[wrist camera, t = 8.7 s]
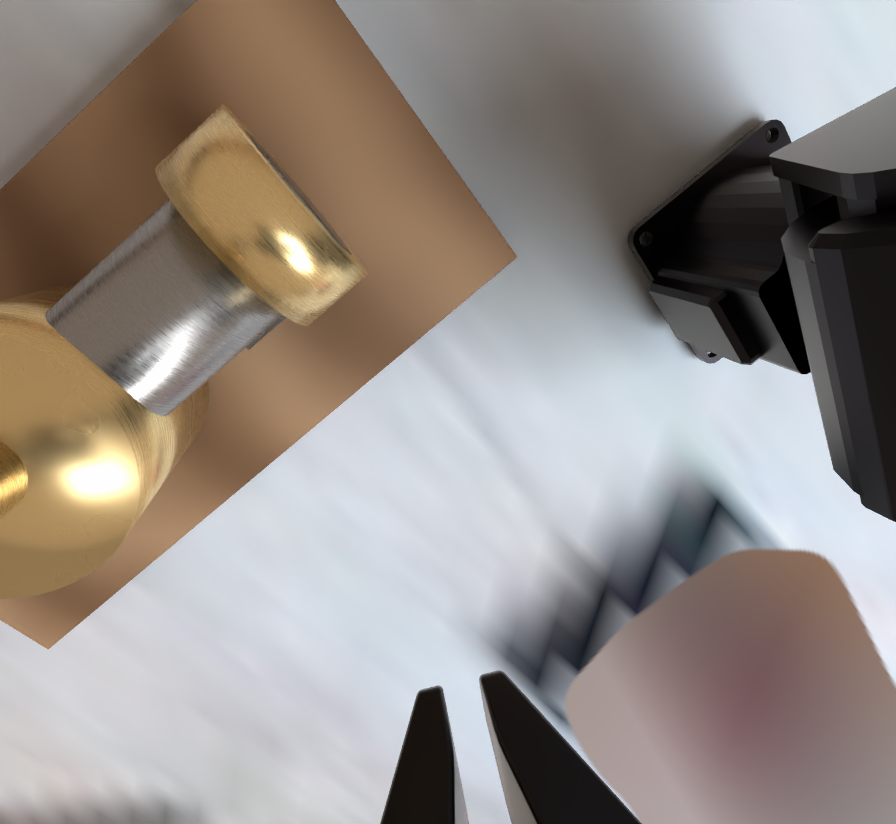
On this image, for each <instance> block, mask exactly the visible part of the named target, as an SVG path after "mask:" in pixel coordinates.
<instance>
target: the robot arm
mask: <svg viewBox="0 0 896 824" xmlns="http://www.w3.org/2000/svg"><path fill="white" fill-rule="evenodd" d="M768 130H769V131H770V132H771V138H770V141H769V142H767V141H766V133H767V131H768ZM643 232H645V233H646V234H647V240H646V242H645V243H644V244H643V245H641V244H640V241H639V238H640V235H641V234H642V233H643ZM628 244H629V247H630V249H631V250H632V252H633V253H634V255H635V257H636V258H637V260H638V262H639V263H640V265H641V267H642V268H643V270H644V271H645V273H646V275H647V276H648V278H649V280H650V281H651V282H650V283H649V293H650V295H651V297H652V298H653V300H654V301H655V303H656V305H657V306H658V308H659V309H660V311H661V313H662V314H663V316H664V318H665V319H666V321H667V322H668V324H669V326H670V327H671V329H672V330H673V332H674V334H675V335H676V337H677V338H678V339H679V340H682V341H684V342H687V343H689V345H690V346H691V348H692V350H693V351H694V353H695V355H696V356H697V357H698V358H699V359H700V360H702V361H704V362H706V363H715V362H717V361H718V360H720V359H721V358H722V357H724V358H727V359H729V360H732V361H734V362H737V363H739V364H747V365H751V364H753V363H754V362H755V361H757V360H758V359H762V360H765V361H768V362H770V363H773V364H776V365H778V366H781V367H784V368H787V369H789V370H792V371H795V372H798V373H800V374H808V373H810V372H811V374H812V378H813V382H814V387H815V391H816V396H817V400H818V404H819V409H820V413H821V418H822V422H823V427H824V431H825V435H826V440H827V444H828V449H829V453H830V457H831V461H832V465H833V469H834V471H835V472H836V473H837V474H838V475H839V476H840V477H841V478H842V479H843V480H844V481H845V482H846V483H847V484H848V486H849V487H850V488H851V489H852V490H853V491H854V492H856V493H857V494H859V495H860V499H861V503H862V504H863V505H864V506H865V507H866V508H868V509H870V510H872V511H874V512H876V513H878V514H880V515H882V516H884V517H886V518H888V519H890V520H892V521H895V522H896V87H895V88H893V89H892V90H890V91H888V92H886V93H884V94H882V95H880V96H878V97H877V98H875V99H873V100H871V101H869V102H867V103H865V104H863V105H862V106H860V107H858V108H856V109H854V110H852V111H850V112H848V113H847V114H845V115H843V116H841V117H839V118H837V119H835V120H833V121H832V122H830V123H828V124H826V125H824V126H822V127H820V128H818V129H816V130H815V131H813V132H811V133H809V134H807V135H805V136H803V137H801V138H800V139H798V140H796V141H794V142H791V140H790V138H789V136H788V133H787V131H786V129H785V126H784V125H783V123H782V122H781V121H779V120H769V121H765V122H762V123H760V124H759V125H757V126H756V127H755V128H754V129H753V130H751V131H750V132H749V133H748V134H747V135H745V136H744V137H743V138H742V139H740V140H739V141H738V142H737V143H736V144H734V145H733V146H732V147H731V148H729V149H728V150H727V151H726V152H725V153H723V154H722V155H721V156H720V157H719V158H717V159H716V160H715V161H714V162H712V163H711V164H710V165H709V166H708V167H706V168H705V169H704V170H703V171H701V172H700V173H699V174H698V175H697V176H695V177H694V178H693V179H692V180H691V181H689V182H688V183H687V184H686V185H684V186H683V187H682V188H681V189H680V190H678V191H677V192H676V193H675V194H673V195H672V196H671V197H670V198H669V199H667V200H666V201H665V202H664V203H663V204H661V205H660V206H659V207H658V208H656V209H655V210H654V211H653V212H652V213H650V214H649V215H648V216H647V217H646V218H644V219H643V220H642V221H641V222H639V223H638V224H637V225H636V226H635V227H633V229H632V230H631V231H630V233H629V236H628ZM707 351H709V352H711V353H710V354H708V355H707ZM479 682H480V688H481V694H482V700H483V706H484V711H485V716H486V721H487V725H488V729H489V734H490V738H491V742H492V746H493V750H494V754H495V759H496V763H497V767H498V771H499V775H500V779H501V783H502V788H503V792H504V796H505V800H506V804H507V808H508V812H509V815H510V819H511V822H512V824H642V823H641V822H640V821H639V820H638V819H637V818H636V817H635V816H634V815H633V814H632V812H631V811H630V810H629V809H628V808H627V807H626V806H625V805H624V804H623V803H622V801H621V800H620V799H619V798H618V797H617V796H616V795H615V794H614V793H613V792H612V791H611V789H610V788H609V787H608V786H607V785H606V784H605V783H604V782H603V781H602V780H601V778H600V777H599V776H598V775H597V774H596V773H595V772H594V771H593V770H592V769H591V767H590V766H589V765H588V764H587V763H586V762H585V761H584V760H583V759H582V758H581V756H580V755H579V754H578V753H577V752H576V751H575V750H574V749H573V748H572V747H571V745H570V744H569V743H568V742H567V741H566V740H565V739H564V738H563V737H562V736H561V734H560V733H559V732H558V731H557V730H556V729H555V728H554V727H553V726H552V725H551V723H550V722H549V721H548V720H547V719H546V718H545V717H544V716H543V715H542V714H541V712H540V711H539V710H538V709H537V708H536V707H535V706H534V705H533V704H532V703H531V701H530V700H529V699H528V698H527V697H526V696H525V695H524V694H523V693H522V692H521V690H520V689H519V688H518V687H517V686H516V685H515V684H514V683H513V682H512V681H511V679H510V678H509V677H508V676H507V675H506V674H505V673H504V672H502V671H495V672H491V673H487V674H483V675H481V676H480V678H479ZM380 824H469V821H468V815H467V810H466V805H465V799H464V794H463V789H462V784H461V779H460V773H459V768H458V763H457V758H456V753H455V747H454V742H453V737H452V732H451V727H450V722H449V717H448V712H447V707H446V702H445V698H444V693H443V689H442V687H441V686H435V687H431V688H427V689H423V690H420V691H419V692H418V694H417V696H416V700H415V703H414V707H413V710H412V714H411V717H410V721H409V724H408V728H407V731H406V735H405V739H404V742H403V746H402V749H401V753H400V756H399V760H398V763H397V767H396V770H395V774H394V777H393V781H392V784H391V788H390V791H389V795H388V799H387V802H386V806H385V809H384V813H383V816H382V820H381V823H380Z"/></svg>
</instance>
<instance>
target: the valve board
mask: <svg viewBox="0 0 896 824" xmlns="http://www.w3.org/2000/svg"><path fill="white" fill-rule="evenodd" d="M222 104H223V105H225V106H226V107H227V108H228V109H229V110H230V111H232V112H233V113H234V114H235V115H236V116H237V117H238V118H239V119H240V121H241V122H242V123H243V124H244V125H245V126H246V127H247V128H248V129H249V130H250V131H251V132H252V133H253V134H254V135H255V137H256V138H257V139H258V140H259V141H260V142H261V143H262V144H263V145H264V146H265V148H266V149H267V150H268V151H269V152H270V153H271V154H272V155H273V157H274V158H275V159H276V160H277V161H278V162H279V163H280V165H281V166H282V167H283V168H284V169H285V170H286V171H287V173H288V174H289V175H290V176H291V177H292V178H293V180H294V181H295V182H296V183H297V184H298V185H299V187H300V188H301V189H302V190H303V191H304V192H305V194H306V195H307V196H308V197H309V198H310V200H311V201H312V202H313V203H314V204H315V206H316V207H317V208H318V209H319V210H320V212H321V213H322V214H323V215H324V216H325V218H326V219H327V220H328V221H329V223H330V224H331V225H332V226H333V227H334V229H335V230H336V231H337V232H338V234H339V235H340V236H341V237H342V239H343V240H344V241H345V242H346V244H347V245H348V246H349V248H350V249H351V250H352V252H353V253H354V254H355V255H356V257H357V258H358V260H359V261H360V262H361V264H362V265H363V267H364V268H365V270H366V271H367V275H366V276H365V277H364V278H363V279H362V280H361V281H359V282H358V283H357V284H356V285H355V286H354V287H353V288H351V289H350V290H349V291H348V292H347V293H346V294H344V295H343V296H342V297H341V298H340V299H339V300H337V301H336V302H335V303H334V304H333V305H332V306H331V307H329V308H328V309H327V310H326V311H325V312H324V313H322V314H321V315H320V316H319V317H318V318H317V319H315V320H314V321H313V322H312V323H311V324H310V325H308V326H302V325H299V324H297V323H295V322H293V321H291V320H290V319H288V318H285V319H284V320H283V321H282V322H280V323H279V324H278V325H277V326H276V327H275V328H274V329H272V330H271V331H270V332H269V333H268V334H267V335H266V336H264V337H263V338H262V339H261V340H260V341H259V342H257V343H256V344H255V345H254V346H253V347H252V348H251V349H249V350H248V349H247V348H245V349H244V350H243V351H241V352H240V353H239V354H238V355H237V356H236V357H234V358H233V359H232V360H231V361H230V362H229V363H228V364H226V365H225V366H224V367H223V368H222V369H221V370H220V371H218V372H217V373H216V374H215V375H214V376H213V377H211V378H210V379H209V380H208V382H209V404H208V409H207V414H206V417H205V420H204V423H203V425H202V427H201V429H200V431H199V432H198V434H197V436H196V437H195V439H194V440H193V441H192V443H191V444H190V446H189V447H188V449H187V450H186V451H185V453H184V454H183V456H182V457H181V459H180V460H179V461H178V463H177V464H176V466H175V467H174V469H173V470H172V472H171V473H170V474H169V476H168V477H167V479H166V480H165V482H164V483H163V484H162V486H161V487H160V489H159V490H158V492H157V493H156V494H155V496H154V497H153V499H152V500H151V502H150V503H149V504H148V506H147V507H146V509H145V510H144V512H143V513H142V514H141V516H140V517H139V519H138V520H137V522H136V523H135V524H134V526H133V527H132V529H131V530H130V532H129V533H128V535H127V536H126V537H125V539H124V540H123V542H122V543H121V544H120V546H119V547H118V548H117V550H116V551H115V552H114V554H112V555H111V556H110V557H109V558H108V559H107V560H106V561H105V562H104V563H103V564H102V565H101V566H100V567H98V568H97V569H96V570H94V571H93V572H92V573H90V574H89V575H87V576H85V577H83V578H82V579H80V580H78V581H76V582H74V583H72V584H70V585H67V586H65V587H62V588H60V589H57V590H54V591H51V592H47V593H43V594H40V595H35V596H29V597H22V598H12V599H0V620H1V621H3V622H5V623H6V624H8V625H9V626H11V627H13V628H14V629H16V630H18V631H19V632H21V633H22V634H24V635H26V636H27V637H29V638H31V639H32V640H34V641H35V642H37V643H39V644H40V645H42V646H44V647H45V648H47V649H49V648H51V647H52V646H53V645H54V644H55V643H56V642H58V641H59V640H60V639H61V638H62V637H64V636H65V635H66V634H67V633H68V632H70V631H71V630H72V629H73V628H74V627H76V626H77V625H78V624H79V623H80V622H82V621H83V620H84V619H85V618H86V617H88V616H89V615H90V614H91V613H92V612H94V611H95V610H96V609H97V608H98V607H99V606H101V605H102V604H103V603H104V602H105V601H107V600H108V599H109V598H110V597H111V596H113V595H114V594H115V593H116V592H117V591H119V590H120V589H121V588H122V587H123V586H125V585H126V584H127V583H128V582H129V581H131V580H132V579H133V578H134V577H135V576H137V575H138V574H139V573H140V572H141V571H142V570H144V569H145V568H146V567H147V566H148V565H150V564H151V563H152V562H153V561H154V560H156V559H157V558H158V557H159V556H160V555H162V554H163V553H164V552H165V551H166V550H168V549H169V548H170V547H171V546H172V545H174V544H175V543H176V542H177V541H178V540H180V539H181V538H182V537H183V536H184V535H186V534H187V533H188V532H189V531H190V530H191V529H193V528H194V527H195V526H196V525H197V524H199V523H200V522H201V521H202V520H203V519H205V518H206V517H207V516H208V515H209V514H211V513H212V512H213V511H214V510H215V509H217V508H218V507H219V506H220V505H221V504H223V503H224V502H225V501H226V500H227V499H229V498H230V497H231V496H232V495H233V494H234V493H236V492H237V491H238V490H239V489H240V488H242V487H243V486H244V485H245V484H246V483H248V482H249V481H250V480H251V479H252V478H254V477H255V476H256V475H257V474H258V473H260V472H261V471H262V470H263V469H264V468H266V467H267V466H268V465H269V464H270V463H272V462H273V461H274V460H275V459H276V458H277V457H279V456H280V455H281V454H282V453H283V452H285V451H286V450H287V449H288V448H289V447H291V446H292V445H293V444H294V443H295V442H297V441H298V440H299V439H300V438H301V437H303V436H304V435H305V434H306V433H307V432H309V431H310V430H311V429H312V428H313V427H315V426H316V425H317V424H318V423H319V422H321V421H322V420H323V419H324V418H325V417H326V416H328V415H329V414H330V413H331V412H332V411H334V410H335V409H336V408H337V407H338V406H340V405H341V404H342V403H343V402H344V401H346V400H347V399H348V398H349V397H350V396H352V395H353V394H354V393H355V392H356V391H358V390H359V389H360V388H361V387H362V386H364V385H365V384H366V383H367V382H368V381H369V380H371V379H372V378H373V377H374V376H375V375H377V374H378V373H379V372H380V371H381V370H383V369H384V368H385V367H386V366H387V365H389V364H390V363H391V362H392V361H393V360H395V359H396V358H397V357H398V356H399V355H401V354H402V353H403V352H404V351H405V350H407V349H408V348H409V347H410V346H411V345H412V344H414V343H415V342H416V341H417V340H418V339H420V338H421V337H422V336H423V335H424V334H426V333H427V332H428V331H429V330H430V329H432V328H433V327H434V326H435V325H436V324H438V323H439V322H440V321H441V320H442V319H444V318H445V317H446V316H447V315H448V314H450V313H451V312H452V311H453V310H454V309H456V308H457V307H458V306H459V305H460V304H461V303H463V302H464V301H465V300H466V299H467V298H469V297H470V296H471V295H472V294H473V293H475V292H476V291H477V290H478V289H479V288H481V287H482V286H483V285H484V284H485V283H487V282H488V281H489V280H490V279H491V278H493V277H494V276H495V275H496V274H497V273H499V272H500V271H501V270H502V269H503V268H504V267H506V266H507V265H508V264H509V263H510V262H512V261H513V260H514V259H515V258H516V257H517V256H516V255H515V253H514V252H513V250H512V249H511V248H510V246H509V245H508V243H507V242H506V240H505V239H504V238H503V236H502V235H501V233H500V232H499V231H498V229H497V228H496V226H495V225H494V224H493V222H492V221H491V219H490V218H489V217H488V215H487V214H486V212H485V211H484V210H483V208H482V207H481V205H480V204H479V202H478V201H477V200H476V198H475V197H474V195H473V194H472V193H471V191H470V190H469V188H468V187H467V186H466V184H465V183H464V181H463V180H462V179H461V177H460V176H459V174H458V173H457V172H456V170H455V169H454V167H453V166H452V165H451V163H450V162H449V160H448V159H447V157H446V156H445V155H444V153H443V152H442V150H441V149H440V148H439V146H438V145H437V143H436V142H435V141H434V139H433V138H432V136H431V135H430V134H429V132H428V131H427V129H426V128H425V127H424V125H423V124H422V122H421V121H420V119H419V118H418V117H417V115H416V114H415V112H414V111H413V110H412V108H411V107H410V105H409V104H408V103H407V101H406V100H405V98H404V97H403V96H402V94H401V93H400V91H399V90H398V89H397V87H396V86H395V84H394V83H393V82H392V80H391V79H390V77H389V76H388V74H387V73H386V72H385V70H384V69H383V67H382V66H381V65H380V63H379V62H378V60H377V59H376V58H375V56H374V55H373V53H372V52H371V51H370V49H369V48H368V46H367V45H366V44H365V42H364V41H363V39H362V38H361V36H360V35H359V34H358V32H357V31H356V29H355V28H354V27H353V25H352V24H351V22H350V21H349V20H348V18H347V17H346V15H345V14H344V13H343V11H342V10H341V8H340V7H339V6H338V4H337V3H336V1H335V0H196V1H195V2H194V3H193V4H192V5H191V6H190V7H189V8H188V9H187V10H186V11H185V12H184V13H183V14H182V15H181V16H180V17H179V18H178V19H176V20H175V21H174V22H173V23H172V24H171V25H170V26H169V27H168V28H167V29H166V30H165V31H164V32H163V33H162V34H161V35H160V36H159V37H158V38H157V39H156V40H155V41H154V42H153V43H152V44H151V45H150V46H149V47H148V48H147V49H145V50H144V51H143V52H142V53H141V54H140V55H139V56H138V57H137V58H136V59H135V60H134V61H133V62H132V63H131V64H130V65H129V66H128V67H127V68H126V69H125V70H124V71H123V72H122V73H121V74H120V75H119V76H118V77H117V78H116V79H115V80H113V81H112V82H111V83H110V84H109V85H108V86H107V87H106V88H105V89H104V90H103V91H102V92H101V93H100V94H99V95H98V96H97V97H96V98H95V99H94V100H93V101H92V102H91V103H90V104H89V105H88V106H87V107H86V108H85V109H84V110H82V111H81V112H80V113H79V114H78V115H77V116H76V117H75V118H74V119H73V120H72V121H71V122H70V123H69V124H68V125H67V126H66V127H65V128H64V129H63V130H62V131H61V132H60V133H59V134H58V135H57V136H56V137H55V138H54V139H53V140H51V141H50V142H49V143H48V144H47V145H46V146H45V147H44V148H43V149H42V150H41V151H40V152H39V153H38V154H37V155H36V156H35V157H34V158H33V159H32V160H31V161H30V162H29V163H28V164H27V165H26V166H25V167H24V168H23V169H22V170H20V171H19V172H18V173H17V174H16V175H15V176H14V177H13V178H12V179H11V180H10V181H9V182H8V183H7V184H6V185H5V186H4V187H3V188H2V189H1V190H0V301H3V300H7V299H11V298H14V297H18V296H22V295H26V294H30V293H34V292H38V291H42V290H46V289H49V288H54V287H58V286H62V285H70V284H77V283H78V282H79V281H80V280H81V279H82V278H83V277H84V276H86V275H87V274H88V273H89V272H90V271H91V270H92V269H93V268H94V267H95V266H96V265H97V264H99V263H100V262H101V261H102V260H103V259H104V258H105V257H106V256H107V255H108V254H109V253H110V252H111V251H113V250H114V249H115V248H116V247H117V246H118V245H119V244H120V243H121V242H122V241H123V240H124V239H126V238H127V237H128V236H129V235H130V234H131V233H132V232H133V231H134V230H135V229H136V228H137V227H139V226H140V225H141V224H142V223H143V222H144V221H145V220H146V219H147V218H148V217H149V216H150V215H151V214H153V213H154V212H155V211H156V210H157V209H158V208H159V207H160V206H161V205H162V204H163V203H164V202H166V201H167V200H168V199H169V198H168V196H167V195H166V193H165V192H164V190H163V189H162V187H161V185H160V183H159V181H158V179H157V176H156V173H155V168H156V166H157V165H158V164H159V163H160V162H161V161H162V160H163V159H165V158H166V157H167V156H168V155H169V154H170V153H171V152H172V151H173V150H174V149H175V148H176V147H177V146H178V145H179V144H181V143H182V142H183V141H184V140H185V139H186V138H187V137H188V136H189V135H190V134H191V133H192V132H193V131H194V130H196V129H197V128H198V127H199V126H200V125H201V124H202V123H203V122H204V121H205V120H206V119H207V118H208V117H209V116H210V115H212V114H213V113H214V112H215V111H216V110H217V109H218V108H219V107H220V106H221V105H222Z"/></svg>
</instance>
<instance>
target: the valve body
mask: <svg viewBox="0 0 896 824" xmlns="http://www.w3.org/2000/svg"><path fill="white" fill-rule="evenodd" d="M155 173H156V176H157V179H158V181H159V183H160V185H161V187H162V189H163V190H164V192H165V193H166V195H167V196H168V198H169V199H168V200H167V201H166V202H164V203H163V204H162V205H161V206H160V207H159V208H158V209H157V210H156V211H155V212H154V213H153V214H151V215H150V216H149V217H148V218H147V219H146V220H145V221H144V222H143V223H142V224H141V225H140V226H139V227H137V228H136V229H135V230H134V231H133V232H132V233H131V234H130V235H129V236H128V237H127V238H126V239H124V240H123V241H122V242H121V243H120V244H119V245H118V246H117V247H116V248H115V249H114V250H113V251H111V252H110V253H109V254H108V255H107V256H106V257H105V258H104V259H103V260H102V261H101V262H100V263H99V264H97V265H96V266H95V267H94V268H93V269H92V270H91V271H90V272H89V273H88V274H87V275H86V276H84V277H83V278H82V279H81V280H80V281H79V282H78V283H77V284H70V285H62V286H58V287H54V288H49V289H46V290H42V291H38V292H34V293H30V294H26V295H22V296H18V297H14V298H11V299H7V300H3V301H0V599H12V598H22V597H29V596H35V595H40V594H43V593H47V592H51V591H54V590H57V589H60V588H62V587H65V586H67V585H70V584H72V583H74V582H76V581H78V580H80V579H82V578H83V577H85V576H87V575H89V574H90V573H92V572H93V571H94V570H96V569H97V568H98V567H100V566H101V565H102V564H103V563H104V562H105V561H106V560H107V559H108V558H109V557H110V556H111V555H112V554H114V552H115V551H116V550H117V548H118V547H119V546H120V544H121V543H122V542H123V540H124V539H125V537H126V536H127V535H128V533H129V532H130V530H131V529H132V527H133V526H134V524H135V523H136V522H137V520H138V519H139V517H140V516H141V514H142V513H143V512H144V510H145V509H146V507H147V506H148V504H149V503H150V502H151V500H152V499H153V497H154V496H155V494H156V493H157V492H158V490H159V489H160V487H161V486H162V484H163V483H164V482H165V480H166V479H167V477H168V476H169V474H170V473H171V472H172V470H173V469H174V467H175V466H176V464H177V463H178V461H179V460H180V459H181V457H182V456H183V454H184V453H185V451H186V450H187V449H188V447H189V446H190V444H191V443H192V441H193V440H194V439H195V437H196V436H197V434H198V432H199V431H200V429H201V427H202V425H203V423H204V420H205V417H206V414H207V409H208V404H209V382H208V380H209V379H210V378H211V377H213V376H214V375H215V374H216V373H217V372H218V371H220V370H221V369H222V368H223V367H224V366H225V365H226V364H228V363H229V362H230V361H231V360H232V359H233V358H234V357H236V356H237V355H238V354H239V353H240V352H241V351H243V350H244V349H245V348H247V349H248V350H249V349H251V348H252V347H253V346H254V345H255V344H256V343H257V342H259V341H260V340H261V339H262V338H263V337H264V336H266V335H267V334H268V333H269V332H270V331H271V330H272V329H274V328H275V327H276V326H277V325H278V324H279V323H280V322H282V321H283V320H284V319H285V318H288V319H290V320H291V321H293V322H295V323H297V324H299V325H302V326H308V325H310V324H311V323H312V322H313V321H314V320H315V319H317V318H318V317H319V316H320V315H321V314H322V313H324V312H325V311H326V310H327V309H328V308H329V307H331V306H332V305H333V304H334V303H335V302H336V301H337V300H339V299H340V298H341V297H342V296H343V295H344V294H346V293H347V292H348V291H349V290H350V289H351V288H353V287H354V286H355V285H356V284H357V283H358V282H359V281H361V280H362V279H363V278H364V277H365V276H366V275H367V271H366V270H365V268H364V267H363V265H362V264H361V262H360V261H359V260H358V258H357V257H356V255H355V254H354V253H353V252H352V250H351V249H350V248H349V246H348V245H347V244H346V242H345V241H344V240H343V239H342V237H341V236H340V235H339V234H338V232H337V231H336V230H335V229H334V227H333V226H332V225H331V224H330V223H329V221H328V220H327V219H326V218H325V216H324V215H323V214H322V213H321V212H320V210H319V209H318V208H317V207H316V206H315V204H314V203H313V202H312V201H311V200H310V198H309V197H308V196H307V195H306V194H305V192H304V191H303V190H302V189H301V188H300V187H299V185H298V184H297V183H296V182H295V181H294V180H293V178H292V177H291V176H290V175H289V174H288V173H287V171H286V170H285V169H284V168H283V167H282V166H281V165H280V163H279V162H278V161H277V160H276V159H275V158H274V157H273V155H272V154H271V153H270V152H269V151H268V150H267V149H266V148H265V146H264V145H263V144H262V143H261V142H260V141H259V140H258V139H257V138H256V137H255V135H254V134H253V133H252V132H251V131H250V130H249V129H248V128H247V127H246V126H245V125H244V124H243V123H242V122H241V121H240V119H239V118H238V117H237V116H236V115H235V114H234V113H233V112H232V111H230V110H229V109H228V108H227V107H226V106H225V105H223V104H222V105H221V106H220V107H219V108H218V109H217V110H216V111H215V112H214V113H213V114H212V115H210V116H209V117H208V118H207V119H206V120H205V121H204V122H203V123H202V124H201V125H200V126H199V127H198V128H197V129H196V130H194V131H193V132H192V133H191V134H190V135H189V136H188V137H187V138H186V139H185V140H184V141H183V142H182V143H181V144H179V145H178V146H177V147H176V148H175V149H174V150H173V151H172V152H171V153H170V154H169V155H168V156H167V157H166V158H165V159H163V160H162V161H161V162H160V163H159V164H158V165H157V166H156V168H155Z"/></svg>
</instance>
